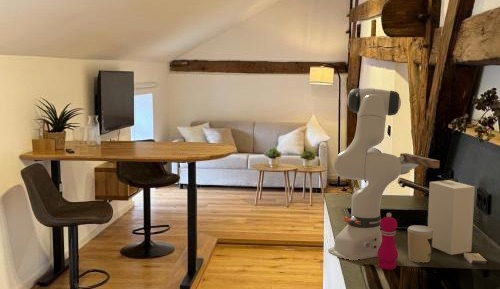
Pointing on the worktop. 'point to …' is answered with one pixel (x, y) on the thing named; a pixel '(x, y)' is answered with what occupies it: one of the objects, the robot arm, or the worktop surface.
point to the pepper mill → (387, 243)
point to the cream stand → (451, 216)
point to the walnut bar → (421, 160)
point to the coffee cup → (420, 243)
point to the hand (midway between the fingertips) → (408, 156)
